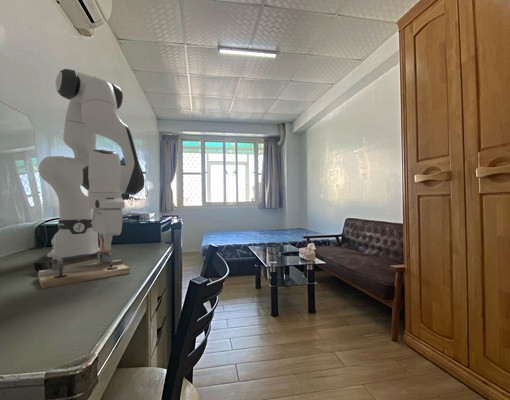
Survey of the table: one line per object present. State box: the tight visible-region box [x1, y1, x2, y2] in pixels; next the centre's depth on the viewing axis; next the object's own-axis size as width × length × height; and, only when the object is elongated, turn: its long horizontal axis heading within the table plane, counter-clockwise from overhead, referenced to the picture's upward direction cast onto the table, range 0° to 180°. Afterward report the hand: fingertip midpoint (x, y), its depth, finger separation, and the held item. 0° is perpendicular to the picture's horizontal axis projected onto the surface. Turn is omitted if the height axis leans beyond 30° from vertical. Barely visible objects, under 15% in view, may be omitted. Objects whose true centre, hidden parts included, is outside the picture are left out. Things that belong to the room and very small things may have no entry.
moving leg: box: [99, 238, 114, 267], centre depth 79 cm, size 8×2×8 cm, turn 42°
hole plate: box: [37, 256, 131, 289], centre depth 75 cm, size 12×20×6 cm, turn 132°
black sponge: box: [32, 253, 99, 273], centre depth 86 cm, size 16×8×4 cm, turn 155°
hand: (105, 248), depth 81 cm, fingers closed on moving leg, 2 cm apart
